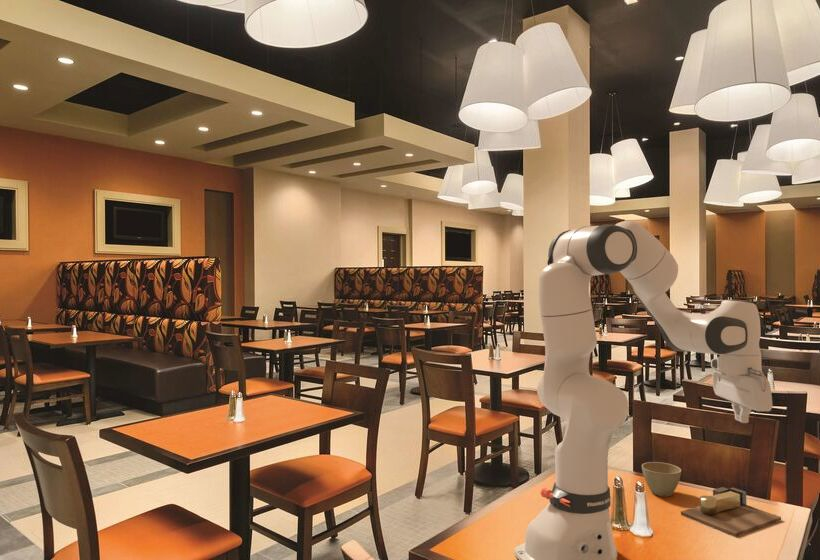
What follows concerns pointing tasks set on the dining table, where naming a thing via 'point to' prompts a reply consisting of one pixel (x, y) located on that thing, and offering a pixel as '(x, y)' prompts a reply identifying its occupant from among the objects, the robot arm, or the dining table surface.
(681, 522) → the dining table surface
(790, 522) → the dining table surface
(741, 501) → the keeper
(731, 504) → the bar
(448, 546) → the dining table surface
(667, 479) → the flower pot
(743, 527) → the brown wooden board
